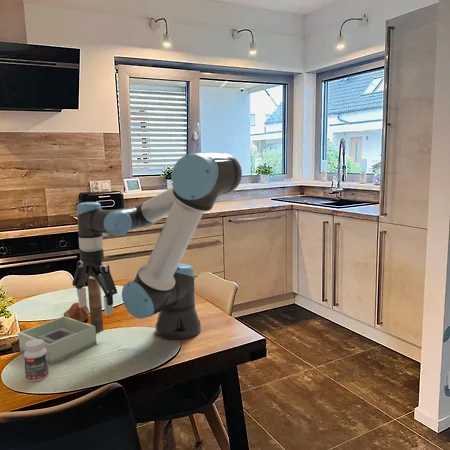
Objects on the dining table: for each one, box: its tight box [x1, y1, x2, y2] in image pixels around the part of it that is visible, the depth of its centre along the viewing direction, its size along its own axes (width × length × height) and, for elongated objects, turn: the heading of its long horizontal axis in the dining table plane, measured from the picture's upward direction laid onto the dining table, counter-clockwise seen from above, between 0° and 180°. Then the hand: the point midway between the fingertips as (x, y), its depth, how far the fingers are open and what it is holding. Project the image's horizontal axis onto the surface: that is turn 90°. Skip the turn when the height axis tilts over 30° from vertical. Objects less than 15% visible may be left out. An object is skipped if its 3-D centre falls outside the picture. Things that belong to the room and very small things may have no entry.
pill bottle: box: [23, 339, 49, 383], centre depth 114 cm, size 6×6×10 cm
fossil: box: [63, 301, 90, 323], centre depth 153 cm, size 13×8×10 cm
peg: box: [86, 277, 104, 333], centre depth 144 cm, size 4×4×18 cm
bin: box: [17, 315, 97, 366], centre depth 132 cm, size 16×16×6 cm
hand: (95, 310), depth 145 cm, fingers open, 13 cm apart
